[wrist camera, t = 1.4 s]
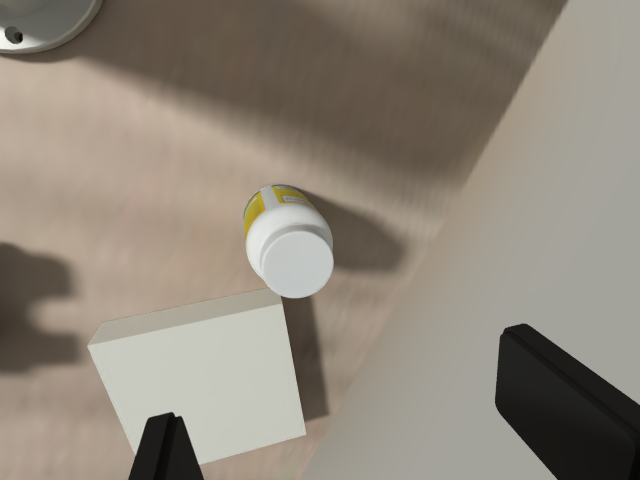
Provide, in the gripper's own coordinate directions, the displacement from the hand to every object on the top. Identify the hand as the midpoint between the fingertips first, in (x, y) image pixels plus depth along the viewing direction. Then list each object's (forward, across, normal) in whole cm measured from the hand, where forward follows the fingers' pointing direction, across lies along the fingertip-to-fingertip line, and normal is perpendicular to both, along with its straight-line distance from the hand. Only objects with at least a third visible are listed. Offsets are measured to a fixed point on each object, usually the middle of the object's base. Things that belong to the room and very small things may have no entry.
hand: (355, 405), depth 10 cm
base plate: (+19, +8, +13) cm, 25 cm away
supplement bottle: (+20, 0, 0) cm, 20 cm away
